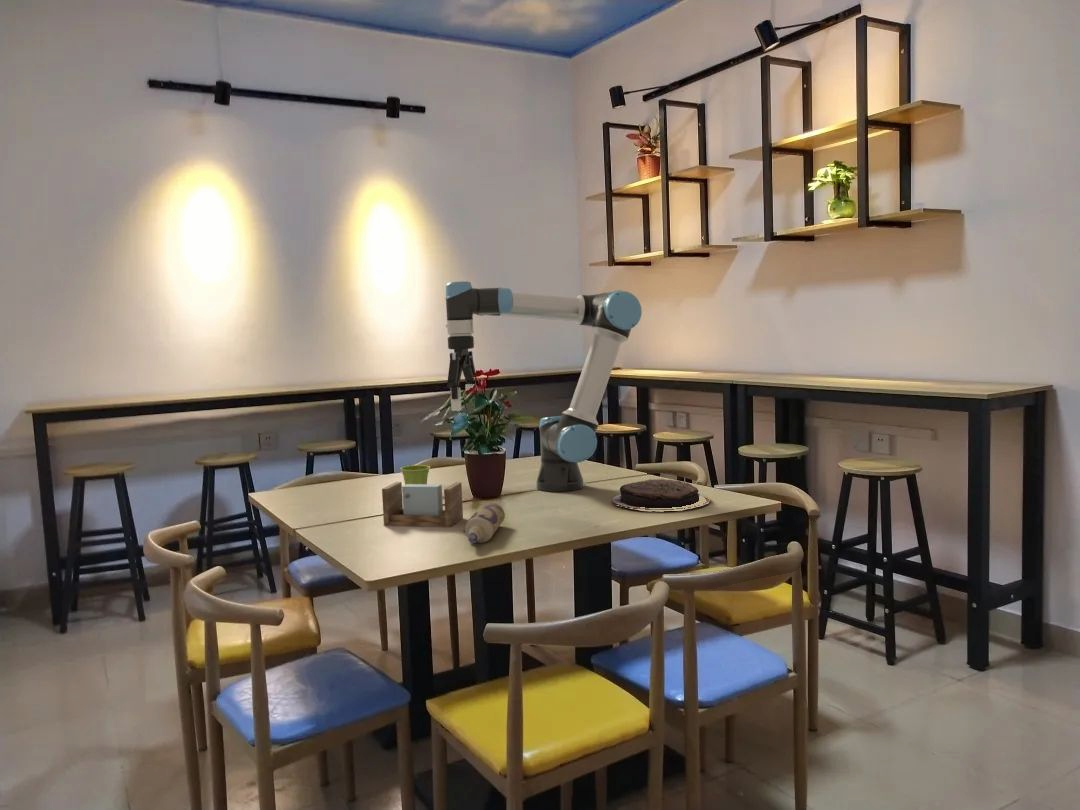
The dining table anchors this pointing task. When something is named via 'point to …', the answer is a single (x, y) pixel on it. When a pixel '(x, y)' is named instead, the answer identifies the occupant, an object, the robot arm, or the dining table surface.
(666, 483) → the chocolate cake
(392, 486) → the track
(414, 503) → the door panel
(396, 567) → the dining table surface
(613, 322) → the robot arm
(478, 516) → the decorative bottle
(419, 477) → the plant pot
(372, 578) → the dining table surface
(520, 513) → the dining table surface
